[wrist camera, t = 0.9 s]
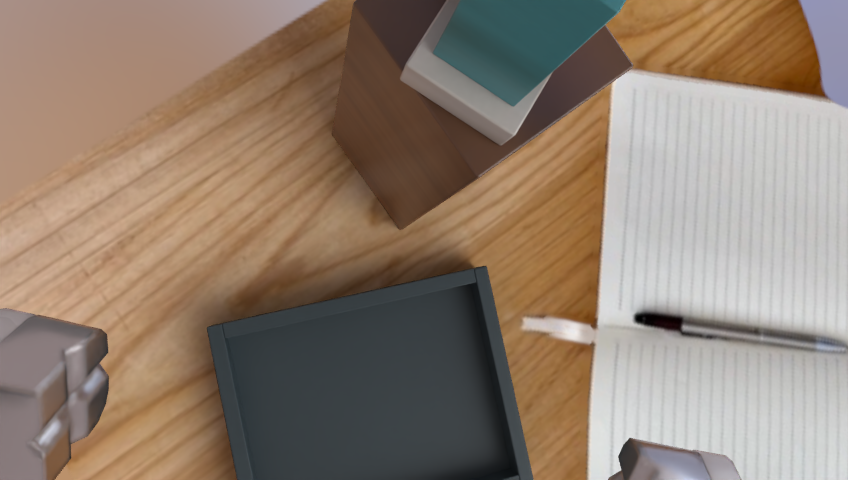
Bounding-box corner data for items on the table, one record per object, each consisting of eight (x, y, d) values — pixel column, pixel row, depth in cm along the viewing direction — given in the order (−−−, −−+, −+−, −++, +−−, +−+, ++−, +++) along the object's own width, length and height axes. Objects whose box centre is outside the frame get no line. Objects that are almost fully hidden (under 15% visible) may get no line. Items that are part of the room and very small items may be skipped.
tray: (257, 549, 36) (254, 566, 34) (212, 325, 37) (206, 327, 35) (521, 474, 39) (535, 485, 37) (476, 267, 40) (486, 265, 38)
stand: (400, 230, 39) (478, 178, 22) (331, 134, 39) (352, 1, 21) (491, 165, 41) (635, 65, 23) (425, 71, 40) (519, -103, 23)
